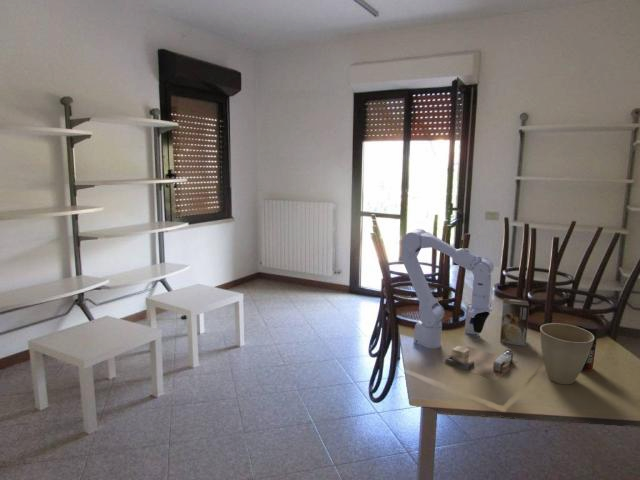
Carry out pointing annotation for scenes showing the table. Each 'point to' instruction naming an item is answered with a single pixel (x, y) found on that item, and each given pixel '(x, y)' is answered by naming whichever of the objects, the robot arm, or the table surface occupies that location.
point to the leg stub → (460, 354)
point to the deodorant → (594, 330)
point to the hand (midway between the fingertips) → (477, 331)
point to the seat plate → (481, 364)
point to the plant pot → (564, 350)
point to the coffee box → (514, 321)
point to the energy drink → (469, 325)
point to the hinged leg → (503, 360)
